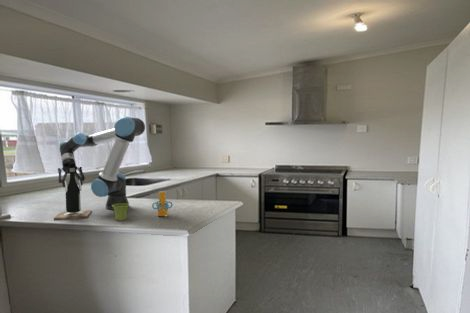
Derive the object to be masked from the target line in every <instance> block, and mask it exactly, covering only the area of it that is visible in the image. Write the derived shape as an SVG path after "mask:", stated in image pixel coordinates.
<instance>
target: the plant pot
mask: <svg viewBox="0 0 470 313" xmlns="http://www.w3.org/2000/svg"><path fill="white" fill-rule="evenodd" d="M128 206H129V207H130V203H129V204H126V203H120V204H114V205H112V207H113V209H114V210H113V212H114V213H113V214H114V219H115V221H125V220H127V218H128V217H127V215H128V211H129V210H128V209H129V207H128Z"/></svg>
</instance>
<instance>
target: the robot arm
mask: <svg viewBox="0 0 470 313" xmlns="http://www.w3.org/2000/svg"><path fill="white" fill-rule="evenodd" d="M145 130H146V125H145V122H144V121H143V120H142V119H140V118H138V117H130V116H124V117H123V116H122V117H120V118H118V119H117V120H116V121H115V122H114V127H113V128H111V129H107V130H103V131H100V132H97V133H94V134H89V135H85V134H84V133H82V132H80V131H79V132H76V134H73V136H72V137H71V138H70V139H69V140H64V141H61V142H59V153H60V157H61V165H62V167H58V168H57V173H58V183H59V184H60V183H61V185H62V187H63V188H64V190H65V193H66V192H67V186H68V183H67V181H66V179H67V176H68V175H70V166H69V163H75V179H77V180H78V182H77V185H78V187H79V190H80V192H81V191H82V186H83V182H85V179H86V178H85V174H84V172H83V169H82V168H83V167H82V166H80V167H78V166H77V164H76V159H75V152H76V151H77V150H78V149H79V148H85V147H90V148H91V147H96V146H98V145H100V144H104V143H105V144H106V143H110V142H111V141H114V142H113V145H112V147H111V150H110V153H109V155H108V157H107V161H106V163H105V164H104V167H103V170H102V171H100V172H99V173H98V176H97V178H96V179H94V180H93V181H92V182H91V184H90V190H91V192H92V193H93V195H95V196H96V197H98V198H102V197H107V199H106V203H105V209H106V210H110V211H111V210H112V211H114V209H113V207H112V205H114V204H120V203H126V204H129V206H128V208H129V207H130V203H129V201H128V196H127V185H126V184H127V178H126V174H122V173H121V174H120V173H119V170H120V167H121V165H122V163H123V161H124V158H125V156H126V152H127V150H128V148H129V145H130V143H133V142H134V139H135V137H138V136H141V135H142V134H144V133H145ZM62 172H64V174H63V178H62Z"/></svg>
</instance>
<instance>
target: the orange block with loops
mask: <svg viewBox="0 0 470 313" xmlns="http://www.w3.org/2000/svg"><path fill="white" fill-rule="evenodd" d="M166 198H167V197H166V191H165V190H160V191H158V201H155V202H153V203H152V205H151V207H152V208H153V210H157V217H159V216H165V215H167V216H168V215H169V214H168V213H169V212H168V211H169V209H171V208H173V202H172V201H168V200H167V199H166ZM169 204H170V206H169ZM154 205H155V206H156V207H155V206H154ZM165 217H166V216H165Z"/></svg>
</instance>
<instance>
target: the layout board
mask: <svg viewBox="0 0 470 313" xmlns="http://www.w3.org/2000/svg"><path fill="white" fill-rule="evenodd" d="M92 211H93V210H92V209H85V210H80V211H79V212H75V213H68V212H67V211H66V210H65V211H60V212H59V213H58V214H57V215H56V216H54V217H53V221H62V220H74V219H75V220H77V219H87V218H89V216H90V215H91V213H92Z"/></svg>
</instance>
